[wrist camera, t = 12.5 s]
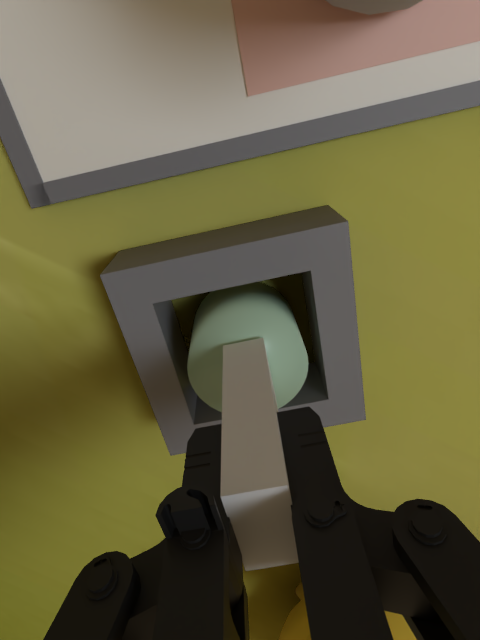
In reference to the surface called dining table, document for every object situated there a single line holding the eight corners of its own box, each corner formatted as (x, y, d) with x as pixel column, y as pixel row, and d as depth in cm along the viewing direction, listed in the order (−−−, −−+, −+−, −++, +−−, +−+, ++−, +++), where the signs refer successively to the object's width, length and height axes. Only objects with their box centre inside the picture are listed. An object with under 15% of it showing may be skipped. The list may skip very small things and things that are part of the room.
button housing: (177, 412, 21) (170, 455, 18) (119, 250, 17) (99, 275, 14) (347, 380, 20) (365, 419, 18) (328, 205, 16) (348, 221, 14)
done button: (207, 378, 19) (204, 425, 16) (181, 292, 17) (172, 328, 14) (301, 359, 19) (315, 404, 16) (286, 270, 17) (299, 302, 14)
